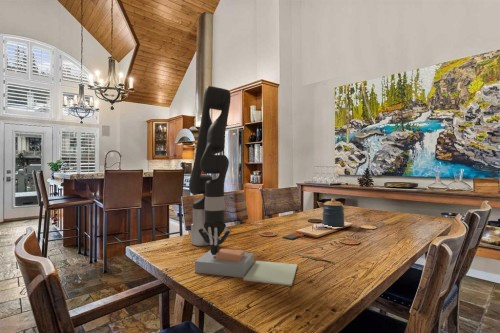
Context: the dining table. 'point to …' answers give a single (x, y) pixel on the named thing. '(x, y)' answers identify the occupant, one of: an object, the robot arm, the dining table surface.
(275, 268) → the mat
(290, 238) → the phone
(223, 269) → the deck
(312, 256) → the sword
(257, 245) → the dining table surface
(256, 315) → the dining table surface
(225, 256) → the block
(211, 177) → the robot arm
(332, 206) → the lidded jar
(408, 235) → the dining table surface
